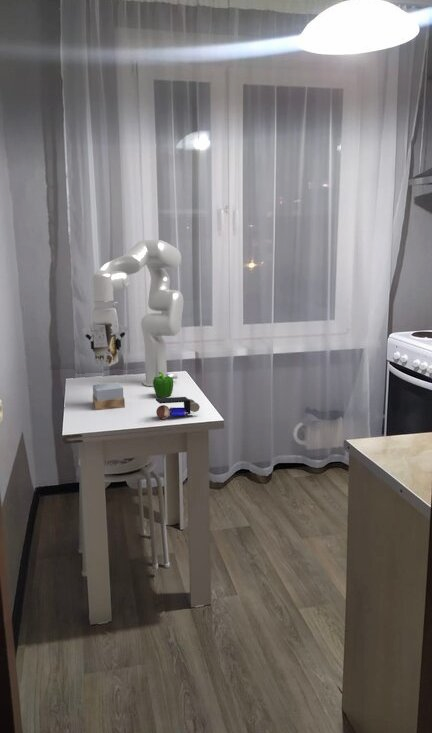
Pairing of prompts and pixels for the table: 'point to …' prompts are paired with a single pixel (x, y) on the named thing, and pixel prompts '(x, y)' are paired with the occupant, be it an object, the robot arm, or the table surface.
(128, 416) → the table surface
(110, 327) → the coffee box
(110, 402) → the tower base block
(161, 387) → the bell pepper
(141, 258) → the robot arm
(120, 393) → the tower top block
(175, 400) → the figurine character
